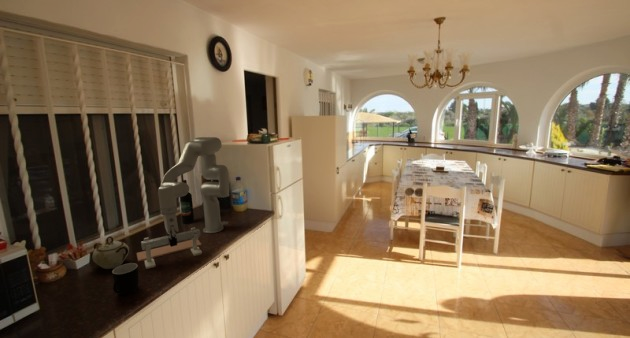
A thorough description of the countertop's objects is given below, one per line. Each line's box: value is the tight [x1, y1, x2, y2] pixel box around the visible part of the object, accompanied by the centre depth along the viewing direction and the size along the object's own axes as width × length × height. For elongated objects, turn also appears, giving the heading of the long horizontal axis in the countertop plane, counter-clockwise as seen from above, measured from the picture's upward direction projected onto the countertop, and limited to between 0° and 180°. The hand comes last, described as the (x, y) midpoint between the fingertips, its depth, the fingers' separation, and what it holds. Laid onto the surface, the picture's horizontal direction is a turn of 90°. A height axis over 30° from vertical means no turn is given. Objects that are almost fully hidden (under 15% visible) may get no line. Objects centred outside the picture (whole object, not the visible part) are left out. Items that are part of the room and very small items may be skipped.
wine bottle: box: [179, 179, 195, 225], centre depth 199 cm, size 8×8×30 cm
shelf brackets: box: [143, 227, 203, 270], centre depth 149 cm, size 26×8×13 cm, turn 125°
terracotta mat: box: [136, 239, 202, 263], centre depth 160 cm, size 31×10×1 cm, turn 125°
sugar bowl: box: [91, 235, 130, 270], centre depth 143 cm, size 20×15×15 cm
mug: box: [111, 262, 140, 296], centre depth 120 cm, size 12×9×10 cm
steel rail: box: [140, 228, 201, 251], centre depth 148 cm, size 27×3×3 cm, turn 125°
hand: (172, 243), depth 149 cm, fingers open, 6 cm apart
